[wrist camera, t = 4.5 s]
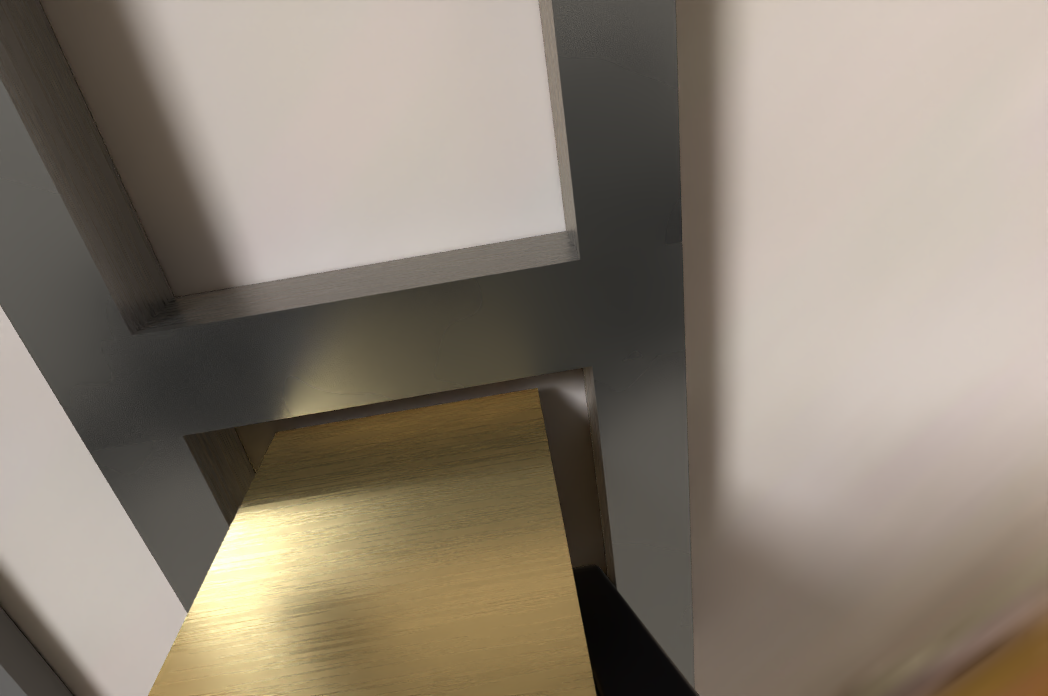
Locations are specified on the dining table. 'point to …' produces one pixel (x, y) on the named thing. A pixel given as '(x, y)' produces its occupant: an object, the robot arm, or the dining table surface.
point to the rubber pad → (24, 666)
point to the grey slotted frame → (369, 309)
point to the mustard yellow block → (393, 565)
